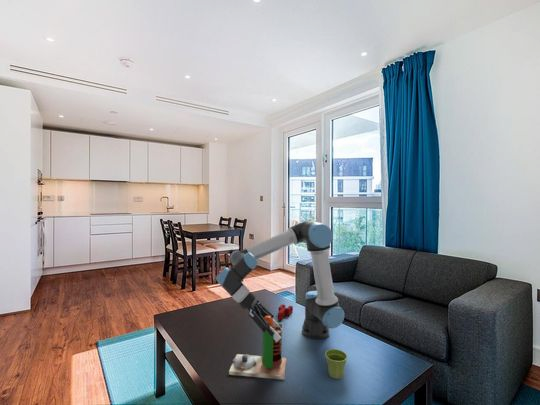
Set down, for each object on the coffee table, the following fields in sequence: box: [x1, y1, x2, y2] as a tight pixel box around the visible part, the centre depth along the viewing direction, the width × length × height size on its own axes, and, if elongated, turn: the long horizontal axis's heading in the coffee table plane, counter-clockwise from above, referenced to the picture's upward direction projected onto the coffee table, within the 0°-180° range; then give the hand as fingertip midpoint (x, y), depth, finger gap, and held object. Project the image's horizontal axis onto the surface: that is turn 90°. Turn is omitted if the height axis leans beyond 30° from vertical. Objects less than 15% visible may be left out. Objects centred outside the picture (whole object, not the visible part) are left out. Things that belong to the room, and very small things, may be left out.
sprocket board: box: [228, 353, 287, 380], centre depth 125 cm, size 24×13×4 cm, turn 82°
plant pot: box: [324, 348, 348, 380], centre depth 120 cm, size 9×9×9 cm
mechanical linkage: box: [277, 304, 294, 321], centre depth 179 cm, size 16×7×5 cm, turn 157°
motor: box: [261, 316, 283, 369], centre depth 124 cm, size 10×9×20 cm
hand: (279, 335), depth 123 cm, fingers closed on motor, 7 cm apart
